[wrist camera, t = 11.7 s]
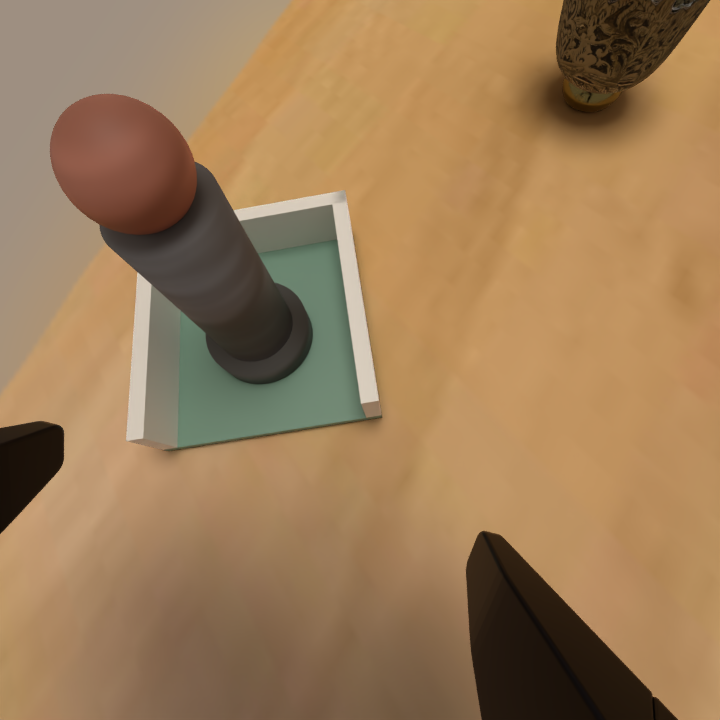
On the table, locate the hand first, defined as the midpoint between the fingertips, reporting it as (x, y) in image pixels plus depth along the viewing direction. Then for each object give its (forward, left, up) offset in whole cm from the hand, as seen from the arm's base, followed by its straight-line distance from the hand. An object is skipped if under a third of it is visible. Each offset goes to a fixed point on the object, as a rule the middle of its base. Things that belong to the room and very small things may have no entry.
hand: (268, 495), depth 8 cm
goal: (+5, +9, -12) cm, 16 cm away
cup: (+31, 0, -12) cm, 33 cm away
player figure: (+5, +8, -12) cm, 15 cm away
